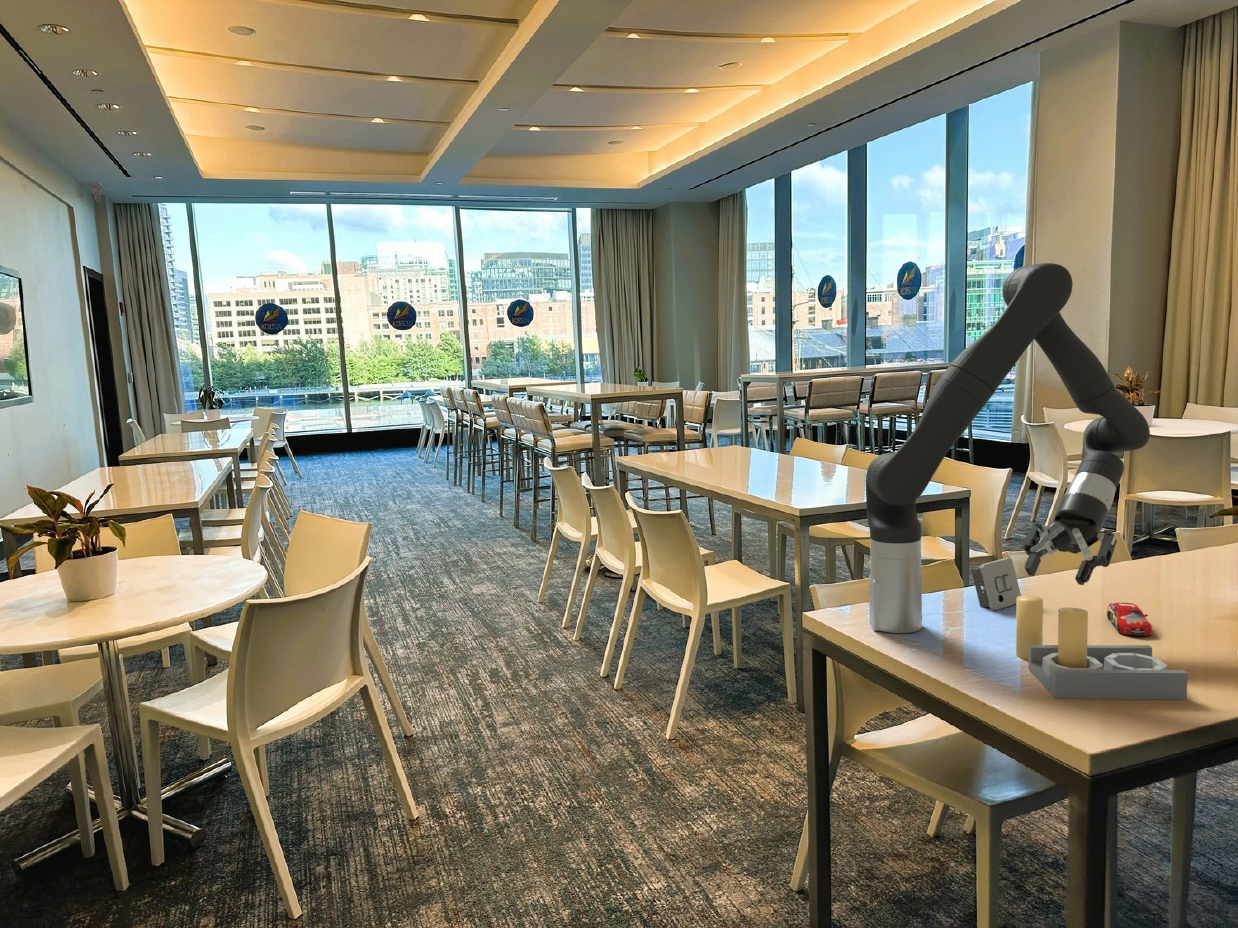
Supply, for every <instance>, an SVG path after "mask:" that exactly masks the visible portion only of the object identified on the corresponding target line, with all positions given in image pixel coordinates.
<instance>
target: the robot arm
mask: <svg viewBox="0 0 1238 928" xmlns="http://www.w3.org/2000/svg"><path fill="white" fill-rule="evenodd" d="M1072 291H1073V278H1072V274H1071V273H1070V271H1069V270H1068V268H1066V267H1065V266H1064V265H1062V264H1058V263H1053V262H1045V263H1036V264H1029V265H1024V266H1021V267H1018V268H1016V269H1014V270H1012V271H1011V272H1010V273H1009V274H1008V276H1007V277H1006V278H1005V280H1004V282H1003V285H1002V292H1001V293H1002V297H1003V301H1004V303H1005V305H1006V308H1005V309H1004V310H1003V312H1002V314H1001V315H1000V316H999V318H998V319H997V320H996V322H994V324H993V325H991V326H990V327H989V328H988V329H987V330H986V331H985V332H984V333H983V334H981V335H980V336H979V337H977V338H976V339H975V340H974V341H973V342H972V343H970V344H969V345H968V346H967V347H965V348H964V349H963V350H962V352H960V354H958V355H957V356H956V357H955V359H954V360H953V361H952V362H951V363H950V364H949V365H948V367H947V369H946V370H945V371H944V372H943V374H942V375H941V376H940V378H939V379H938V380H937V382H936V384H934V386H933V389H932V390H931V392H930V394H929V396H928V398H927V401H926V403H925V406H924V408H923V412H922V414H921V416H920V419H919V421H918V423H917V425H916V426H915V428H914V430H913V431H912V433H910V436H908V438H907V439H906V440H905V441H904V443H903V444H902V445H901V446H900V447H899V449H898V450H897V451H896V452H887V453H886V452H885V453H883V454H879V455H878V456H876V457H875V458H874V459H872V461H870V464H869V466H868V468H867V470H866V475H865V497H866V498H865V501H866V504H865V505H866V519H867V523H868V527H869V537H870V538H869V542H870V545H869V546H870V550H869V551H870V553H869V554H870V556H869V557H870V573H869V575H868V597H869V598H868V600H869V603H868V604H869V606H868V607H869V622H870V625H871V628H872V629H873V631H877V632H885V633H892V634H908V633H915V632H918V631H920V630H921V629H922V627H923V623H922V622H923V611H922V610H923V609H922V607H923V604H922V603H923V602H922V601H923V599H922V597H923V596H922V594H923V593H922V586H923V585H922V526H921V523H920V520H919V517H918V514H917V509H916V508H917V507H916V501H917V500H918V499H919V498H920V496H921V495H922V494H923V492H924V491H925V490H926V488H927V487H928V485H929V484H930V482H931V480H932V478H933V476H934V475H935V473H936V472H937V470H938V468H939V467H940V465H941V463H942V462H943V460H944V458H945V457H946V456H947V454H948V452H949V451H950V450H951V448H952V447H953V446H954V444H955V443H956V442H957V441H958V440H959V439H960V437H962V434H964V432H965V431H966V430H967V429H968V428H969V426H970V425H971V423H972V422H973V421H974V419H975V418H976V417H977V416H978V414H979V413H980V412H981V411H982V410H983V409H984V407H985V406H986V405H987V403H988V402H989V401H990V399H991V398H992V397H993V395H994V394H995V393H996V392H997V389H998V388H999V387H1000V385H1001V384H1002V382H1003V381H1004V380H1005V379H1006V377H1007V376H1008V374H1009V373H1010V372H1011V370H1012V369H1013V368H1014V366H1015V365H1016V364H1017V363H1018V361H1019V360H1020V358H1021V357H1022V355H1023V354H1024V353H1025V351H1026V350H1027V348H1028V347H1029V346H1030V345H1031V344H1032V342H1033V341H1035V342H1036V344H1037V345H1038V346H1039V348H1040V349H1041V351H1043V353H1044V354H1045V357H1047V359H1048V360H1049V362H1050V363H1051V365H1052V366H1053V368H1054V369H1055V371H1056V373H1057V375H1058V376H1059V378H1060V379H1061V382H1062V383H1063V385H1064V387H1065V388H1066V390H1067V392H1068V393H1069V395H1070V397H1071V399H1072V400H1073V403H1074V404H1075V406H1076V407H1077V408H1078V410H1079V411H1081V413H1084V414H1088V415H1098V416H1100V417H1097V418H1094V419H1093V420H1092V421H1090V422H1089V424H1087V426H1086V427H1085V429H1084V430H1083V431H1084V432H1083V437H1082V438H1083V440H1082V450H1081V462H1080V464H1078V465H1079V466H1078V468H1077V469H1076V472H1075V474H1074V477H1073V479H1071V481H1070V483H1069V485H1068V487H1067V489H1066V491H1065V493H1064V495H1063V498H1062V500H1061V502H1060V504H1059V507H1058V509H1057V511H1056V513H1055V515H1054V519H1053V520H1054V521H1053V522H1052V523H1051V524H1050V525H1044V524H1041V523H1040V521H1034V522H1033V523H1032V525H1031V526H1030V529H1029V530H1028V532H1027V534H1026V537H1025V538H1024V539H1023V542H1022V544H1021V548H1022V549H1023V550H1024V552H1025V553H1026V555H1028V557H1027V558H1026V561H1025V563H1024V569H1025V572H1026V574H1027V575H1028V576H1029V577H1034V576H1035V575H1036V573H1037V571H1038V568H1039V566H1040V564H1041V562H1042V560H1041V559H1043V558H1044V557H1046V556H1047V555H1052V554H1054V553H1056V552H1057V551H1059V552H1063V553H1067V552H1068V553H1071V554H1076V555H1077V554H1078V553H1082V555H1083V558H1084V560H1082V561H1081V563H1080V566H1079V567H1078V570H1077V573H1076V574H1075V581H1076V583H1077V585H1078V586H1079V585H1080V586H1084V585H1085V583H1088V582H1089V581H1090V579H1091V577H1092V574H1093V572H1094V569H1096V568H1097V567H1103V568H1106V567H1109V565H1110V563H1111V560H1112V557H1113V556H1114V555H1113V554H1114V553H1115V549H1116V545H1117V542H1118V540H1117V538H1116V536H1115V534H1114V533H1113V531H1112V530H1106V531H1105V532H1101V531H1102V528H1103V526H1104V523H1105V521H1106V519H1107V516H1108V514H1109V512H1110V509H1112V504H1113V502H1114V498H1115V494H1116V491H1117V488H1118V487H1119V484H1120V482H1121V478H1122V477H1123V474H1124V470H1125V465H1124V461H1123V460H1122V459H1121V457H1119V456H1118V455H1116V454H1115V453H1121V452H1122V453H1124V452H1131V451H1137V450H1140V449H1142V448H1144V447H1145V446H1146V445H1147V444H1148V442H1149V440H1150V436H1151V435H1150V434H1151V433H1150V432H1151V431H1150V426H1149V423H1148V421H1147V419H1146V418H1145V416H1144V415H1143V414H1142V412H1141V411H1140V410H1138V408H1137V407H1136V406H1134V405H1133V404H1132V402H1131V401H1129V400H1128V399H1127V398H1126V397H1125V396H1124V395H1123V394H1122V393H1121V392H1120V391H1118V389H1117V388H1116V386H1115V385H1114V382H1113V381H1112V379H1111V378H1110V376H1109V374H1108V372H1107V371H1106V369H1105V367H1104V365H1103V364H1102V362H1101V361H1100V360H1099V358H1098V357H1097V355H1096V354H1094V352H1093V351H1092V350H1091V349H1090V348H1089V347H1088V346H1087V345H1086V344H1085V342H1084V341H1082V340H1081V339H1080V338H1079V336H1077V335H1076V334H1075V332H1074V331H1073V330H1072V329H1071V328H1070V326H1069V325H1068V323H1067V322H1066V321H1065V319H1064V317H1063V316H1062V314H1061V313H1060V312H1061V311H1062V310H1063V308H1064V307H1065V306H1066V305H1067V303H1068V301H1069V300H1070V298H1071V295H1072ZM1098 541H1099V542H1100V546H1099V549H1098V553H1097V555H1093V553H1092V550H1091V549H1090V547H1091V546H1093V545H1094V544H1096V543H1097V542H1098ZM1050 543H1052V545H1050Z"/></svg>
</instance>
